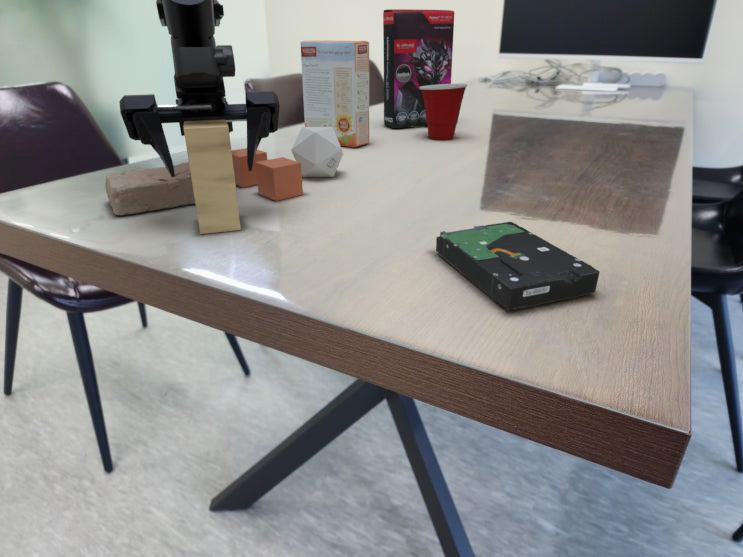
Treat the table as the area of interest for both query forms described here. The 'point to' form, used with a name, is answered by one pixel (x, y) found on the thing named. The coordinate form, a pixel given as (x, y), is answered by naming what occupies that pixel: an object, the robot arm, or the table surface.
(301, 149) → the die
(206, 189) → the maple block
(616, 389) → the table surface
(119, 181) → the brick
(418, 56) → the graphics card box
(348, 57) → the cracker box
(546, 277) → the disk drive
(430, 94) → the plastic cup
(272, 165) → the cube mid
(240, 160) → the cube far
